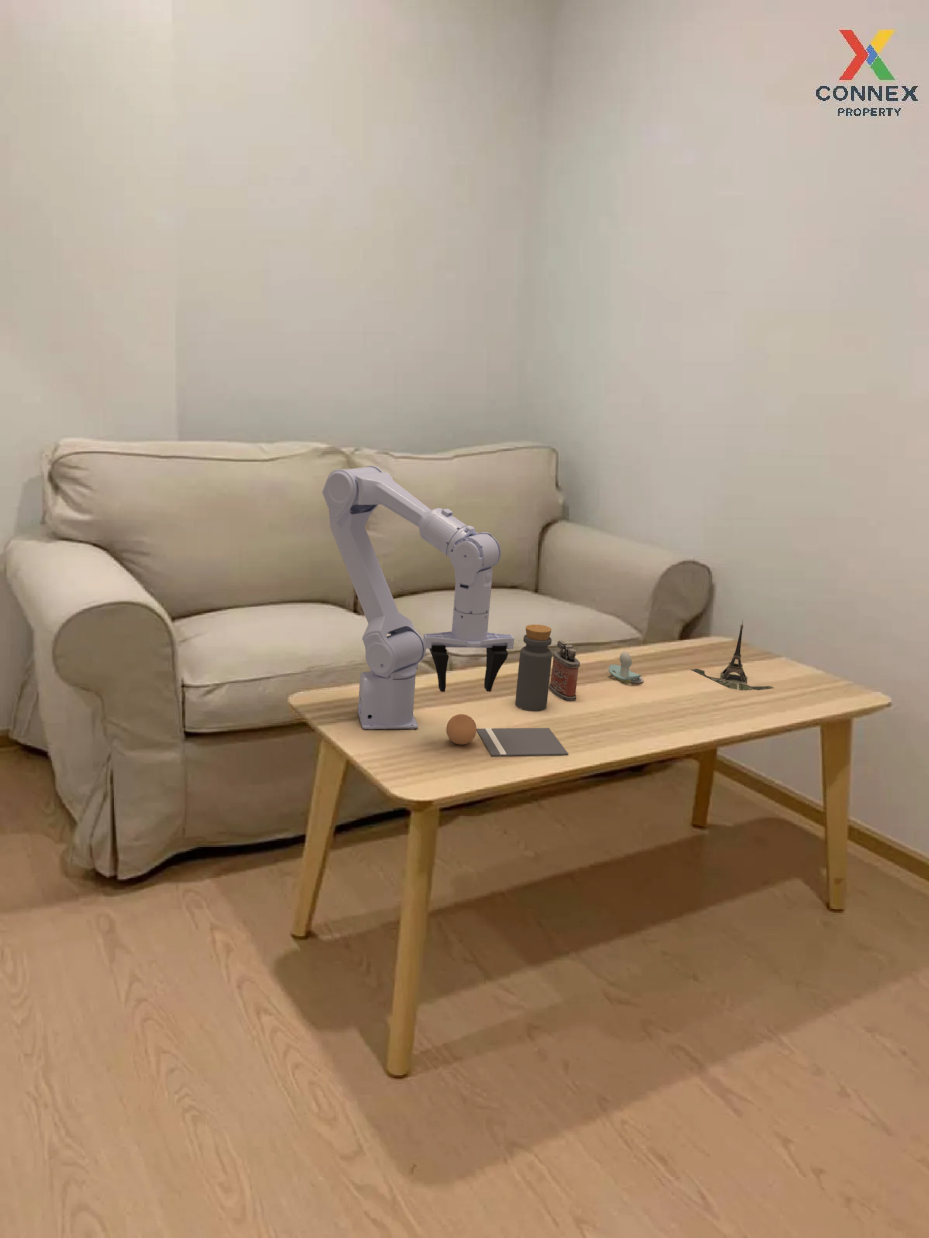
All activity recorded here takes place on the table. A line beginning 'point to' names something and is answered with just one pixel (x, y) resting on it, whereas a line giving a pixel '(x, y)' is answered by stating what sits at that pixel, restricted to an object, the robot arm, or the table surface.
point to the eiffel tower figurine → (730, 679)
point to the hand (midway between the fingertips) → (464, 689)
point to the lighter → (564, 672)
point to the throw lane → (521, 742)
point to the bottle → (534, 669)
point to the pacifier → (625, 670)
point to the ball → (461, 729)
